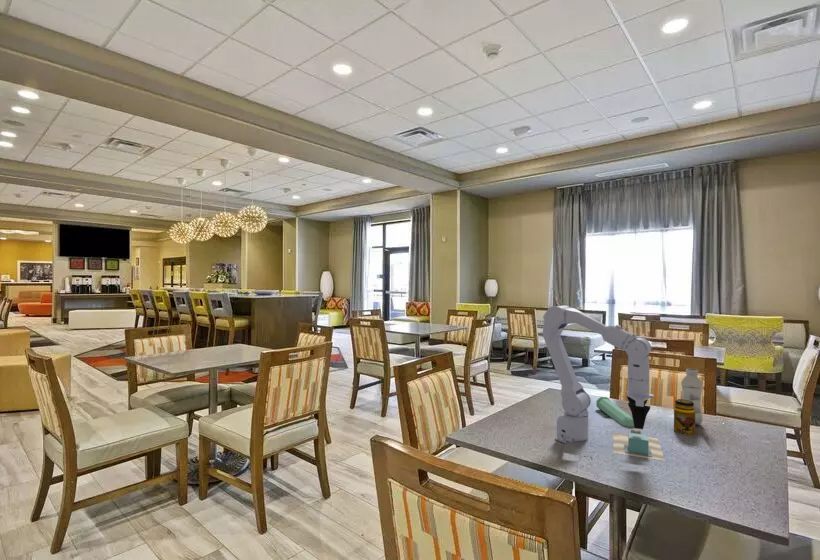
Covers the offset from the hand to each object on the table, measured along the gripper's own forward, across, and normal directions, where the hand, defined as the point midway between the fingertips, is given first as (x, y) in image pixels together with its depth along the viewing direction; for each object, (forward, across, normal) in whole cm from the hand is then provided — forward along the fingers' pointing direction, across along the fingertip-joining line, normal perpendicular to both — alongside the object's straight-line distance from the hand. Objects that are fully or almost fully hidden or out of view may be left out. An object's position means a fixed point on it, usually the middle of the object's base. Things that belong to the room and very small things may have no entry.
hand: (637, 424), depth 128 cm
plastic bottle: (+9, +41, -20) cm, 47 cm away
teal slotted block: (+8, 0, 0) cm, 8 cm away
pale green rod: (+10, +35, +5) cm, 36 cm away
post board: (+9, +5, 0) cm, 10 cm away
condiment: (+10, +26, -15) cm, 31 cm away
